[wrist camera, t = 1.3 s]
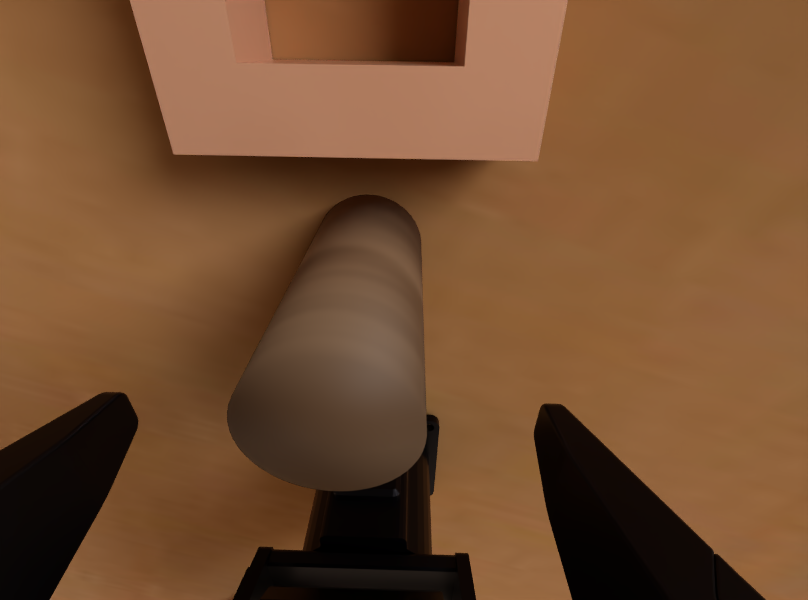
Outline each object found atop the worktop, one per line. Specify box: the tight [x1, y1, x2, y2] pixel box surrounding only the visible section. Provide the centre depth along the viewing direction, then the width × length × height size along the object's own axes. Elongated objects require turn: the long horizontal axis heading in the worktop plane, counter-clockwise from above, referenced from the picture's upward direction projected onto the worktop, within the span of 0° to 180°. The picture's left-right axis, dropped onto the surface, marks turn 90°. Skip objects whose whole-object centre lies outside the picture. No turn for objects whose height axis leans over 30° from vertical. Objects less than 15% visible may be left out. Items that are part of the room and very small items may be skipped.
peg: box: [227, 195, 427, 491], centre depth 12 cm, size 4×4×9 cm
